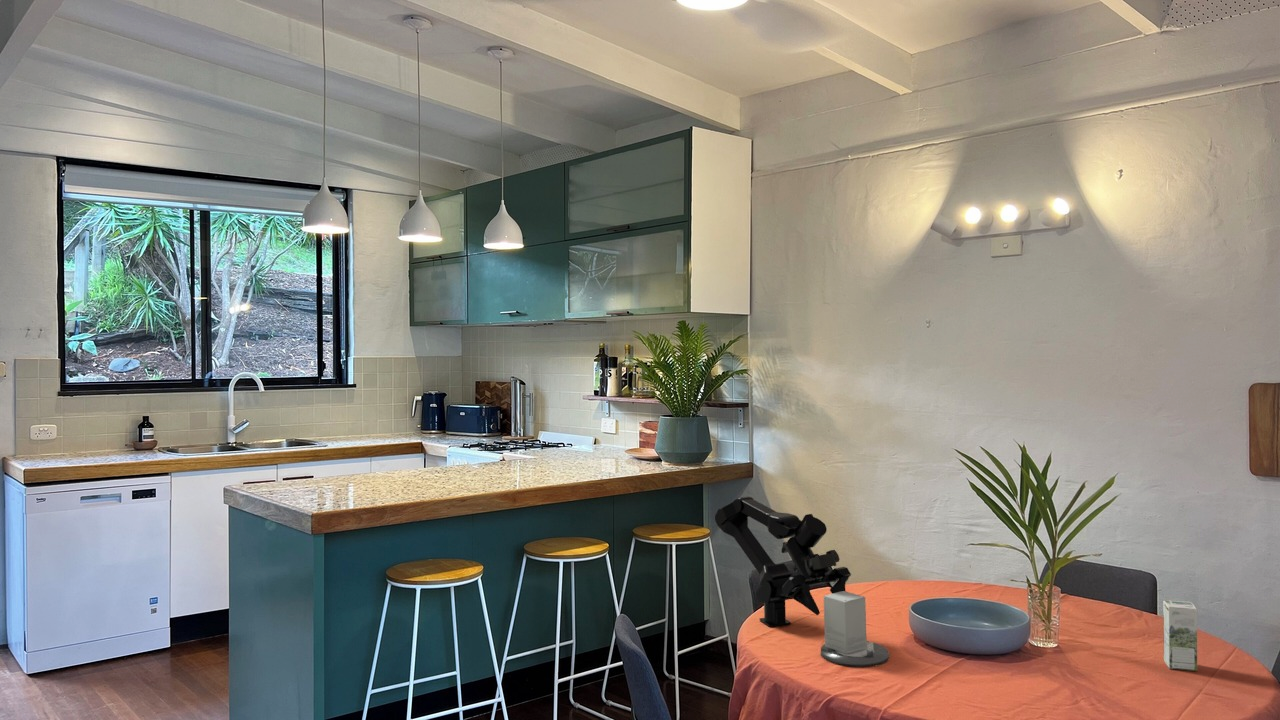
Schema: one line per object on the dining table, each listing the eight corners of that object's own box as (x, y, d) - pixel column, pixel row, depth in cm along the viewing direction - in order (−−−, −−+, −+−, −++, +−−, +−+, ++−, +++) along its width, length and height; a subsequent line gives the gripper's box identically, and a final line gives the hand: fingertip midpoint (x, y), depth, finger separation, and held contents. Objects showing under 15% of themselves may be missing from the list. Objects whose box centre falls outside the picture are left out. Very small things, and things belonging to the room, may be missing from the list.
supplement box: (867, 648, 218) (866, 596, 218) (845, 654, 214) (844, 601, 214) (845, 640, 224) (844, 590, 224) (823, 646, 220) (822, 595, 220)
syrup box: (1191, 663, 207) (1190, 600, 207) (1198, 672, 202) (1197, 607, 201) (1163, 660, 209) (1162, 598, 209) (1169, 669, 204) (1168, 605, 203)
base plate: (807, 651, 220) (806, 633, 220) (856, 640, 228) (855, 622, 228) (852, 671, 206) (852, 652, 206) (903, 658, 214) (903, 639, 214)
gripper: (788, 544, 223) (818, 600, 214) (845, 535, 232) (877, 588, 223) (769, 569, 230) (797, 623, 221) (825, 559, 239) (855, 611, 230)
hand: (832, 611), depth 224 cm, fingers open, 9 cm apart
